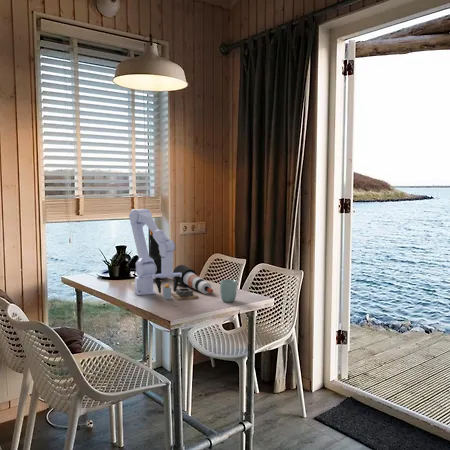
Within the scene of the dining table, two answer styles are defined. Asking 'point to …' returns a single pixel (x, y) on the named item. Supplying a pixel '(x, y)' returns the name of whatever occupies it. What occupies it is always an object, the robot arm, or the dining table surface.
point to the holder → (184, 294)
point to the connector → (166, 292)
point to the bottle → (155, 254)
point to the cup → (228, 290)
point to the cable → (192, 279)
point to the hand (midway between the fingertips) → (167, 292)
